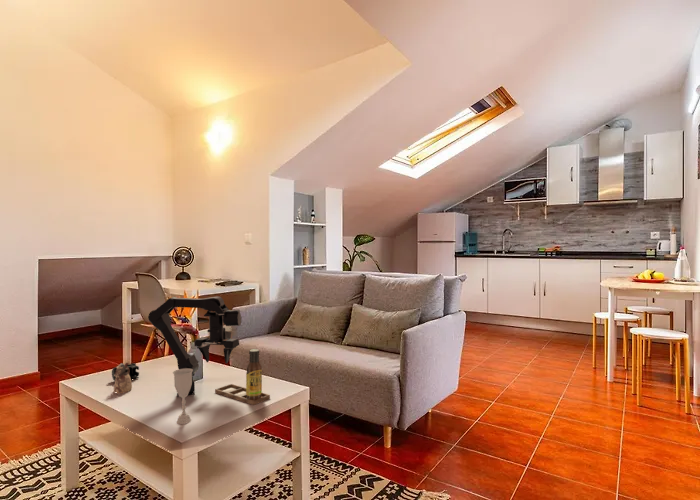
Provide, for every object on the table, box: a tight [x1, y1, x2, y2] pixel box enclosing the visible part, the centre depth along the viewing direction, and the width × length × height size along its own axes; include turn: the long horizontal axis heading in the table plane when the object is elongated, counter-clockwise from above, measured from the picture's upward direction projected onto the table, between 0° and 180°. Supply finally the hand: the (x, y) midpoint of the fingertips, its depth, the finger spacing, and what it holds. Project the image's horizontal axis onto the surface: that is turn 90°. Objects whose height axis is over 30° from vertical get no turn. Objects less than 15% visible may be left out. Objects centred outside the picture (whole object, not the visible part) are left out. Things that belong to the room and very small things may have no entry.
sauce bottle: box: [245, 348, 263, 401], centre depth 173 cm, size 6×6×20 cm
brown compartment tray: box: [214, 383, 271, 406], centre depth 178 cm, size 25×9×2 cm, turn 53°
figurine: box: [113, 362, 133, 394], centre depth 187 cm, size 7×7×12 cm
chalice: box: [172, 368, 193, 425], centre depth 153 cm, size 7×7×18 cm
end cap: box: [111, 362, 140, 382], centre depth 202 cm, size 10×7×7 cm
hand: (217, 362), depth 181 cm, fingers open, 9 cm apart
